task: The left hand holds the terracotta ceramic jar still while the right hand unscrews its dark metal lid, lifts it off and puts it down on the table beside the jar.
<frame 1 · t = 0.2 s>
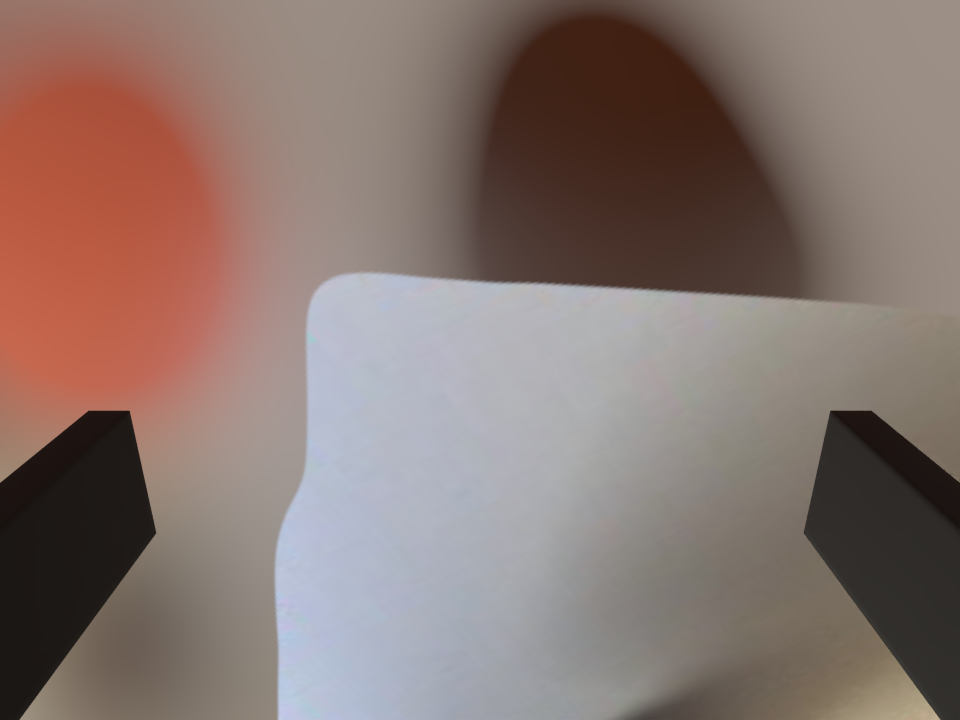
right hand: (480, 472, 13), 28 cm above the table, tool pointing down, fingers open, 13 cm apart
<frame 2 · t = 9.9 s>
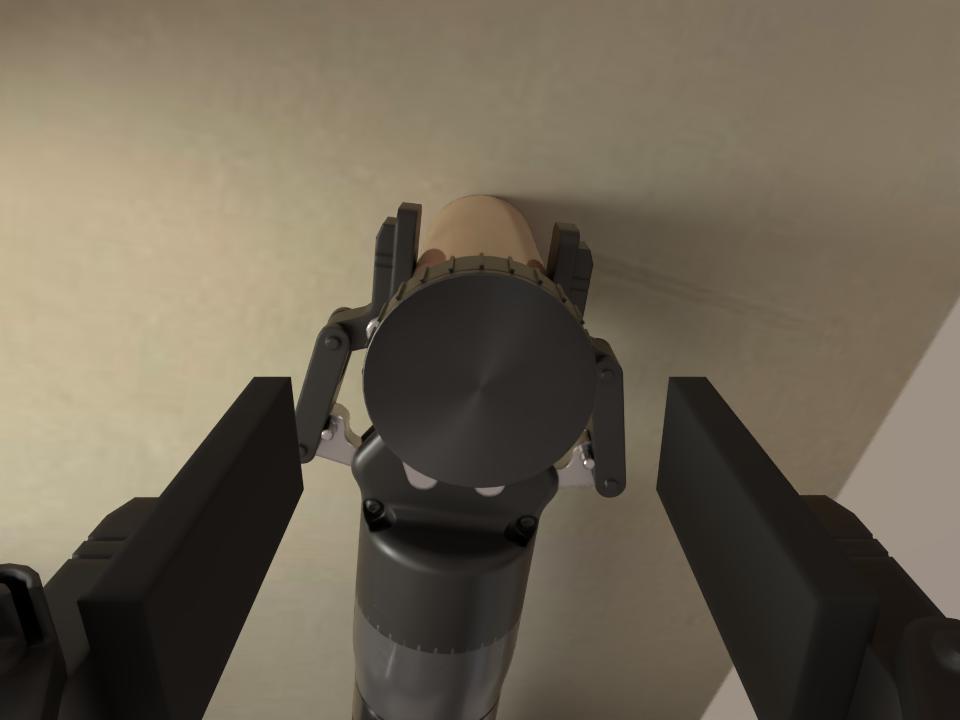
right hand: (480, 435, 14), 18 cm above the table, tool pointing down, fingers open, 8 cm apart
left hand: (488, 218, 24), fingers closed on jar, 5 cm apart
lid: (480, 382, 17), point 15 cm above the table, screwed on, not yet turned
jar: (479, 249, 31), on the table, touching left hand
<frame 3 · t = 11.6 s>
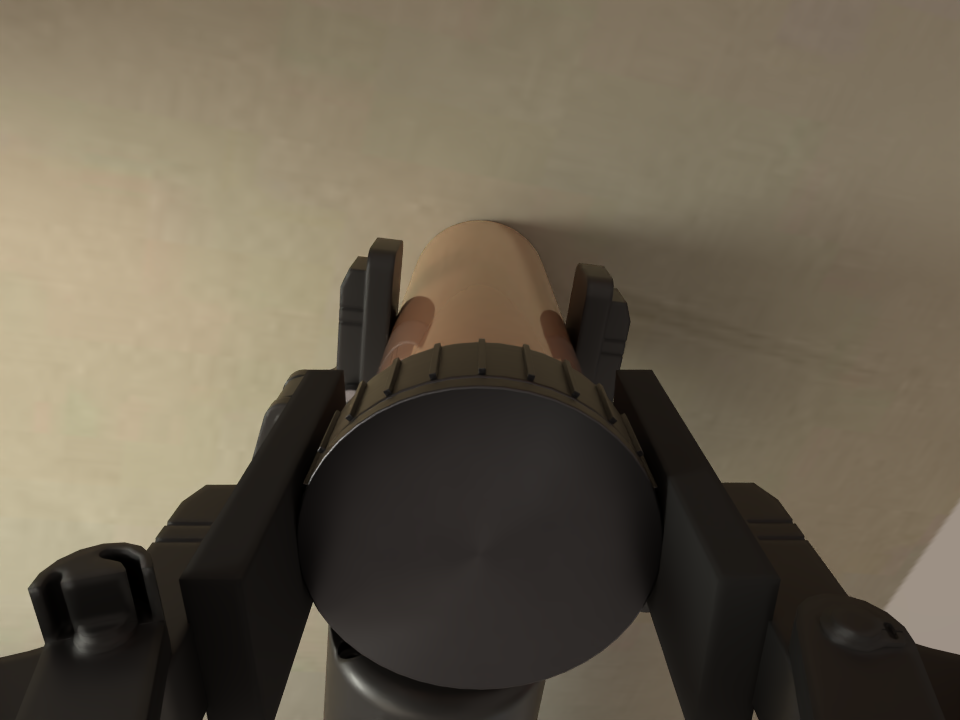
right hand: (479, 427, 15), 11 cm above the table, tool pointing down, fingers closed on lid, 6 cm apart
lid: (479, 540, 11), point 15 cm above the table, screwed on, not yet turned, touching right hand
jar: (479, 286, 25), on the table, touching left hand
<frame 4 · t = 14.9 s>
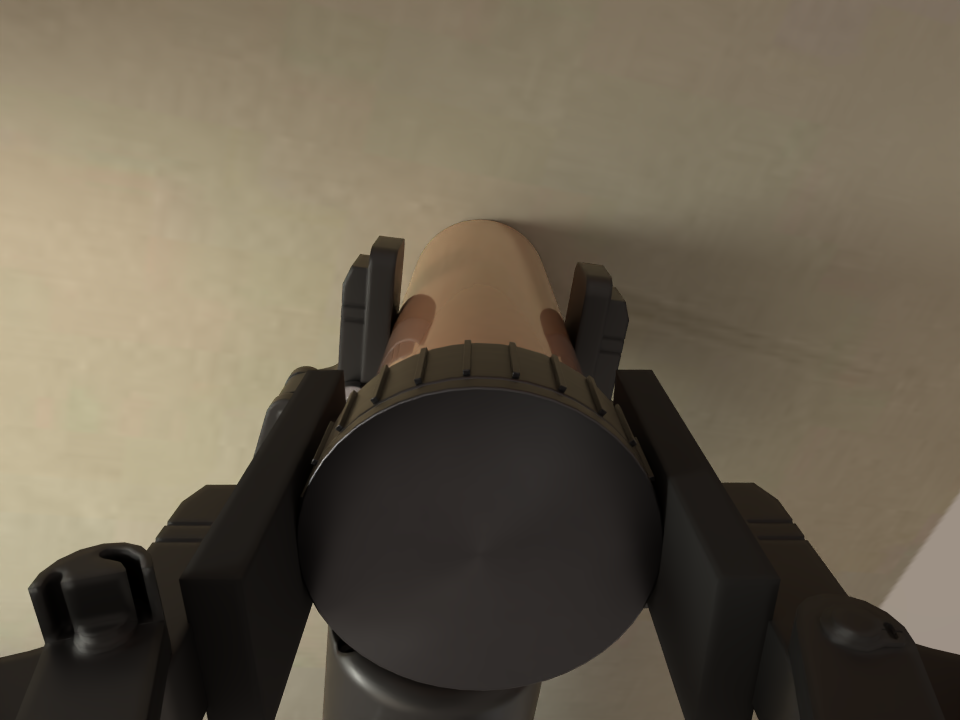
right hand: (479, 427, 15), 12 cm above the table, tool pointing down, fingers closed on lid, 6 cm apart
lid: (479, 541, 11), point 15 cm above the table, turned 106° so far, risen 0.2 cm, still on its thread, touching right hand
jar: (479, 285, 25), on the table, touching left hand
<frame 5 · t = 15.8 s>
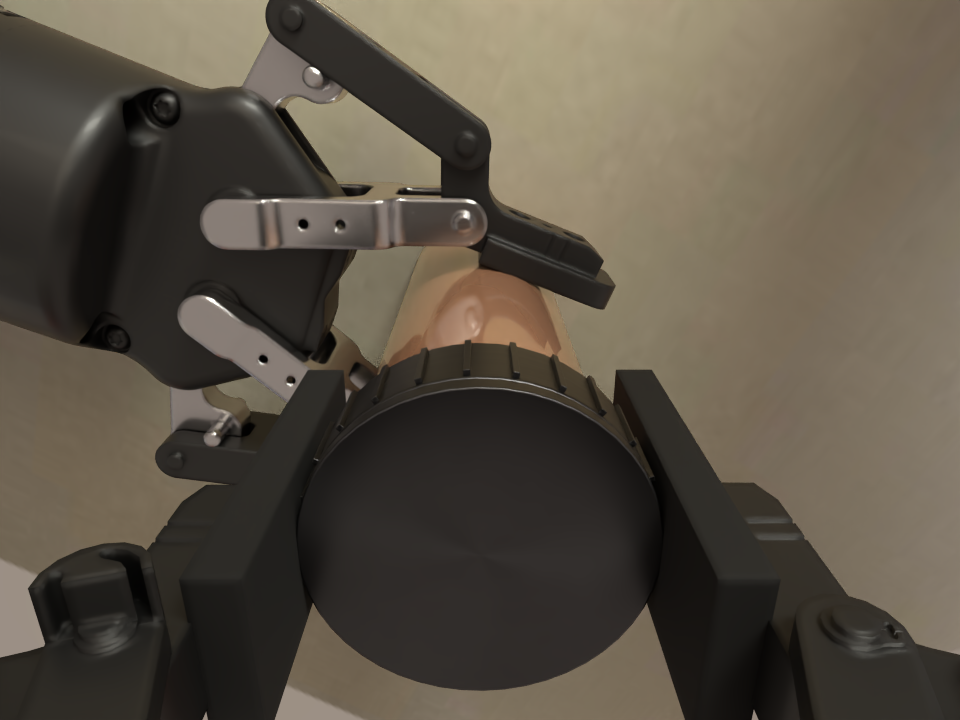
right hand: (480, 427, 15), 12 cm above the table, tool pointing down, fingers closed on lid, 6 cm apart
left hand: (561, 374, 20), fingers closed on jar, 5 cm apart
lid: (479, 541, 11), point 16 cm above the table, off its thread, touching right hand
jar: (479, 283, 25), on the table, touching left hand
when the right hand's fingers open (0 cm above the table, at t = 21.9 s): lid drops 2 cm, point 2 cm above the table.
when the left hand's fingers open (7 cm above the table, at t = 22.6 s): jar stays where it is, on the table.
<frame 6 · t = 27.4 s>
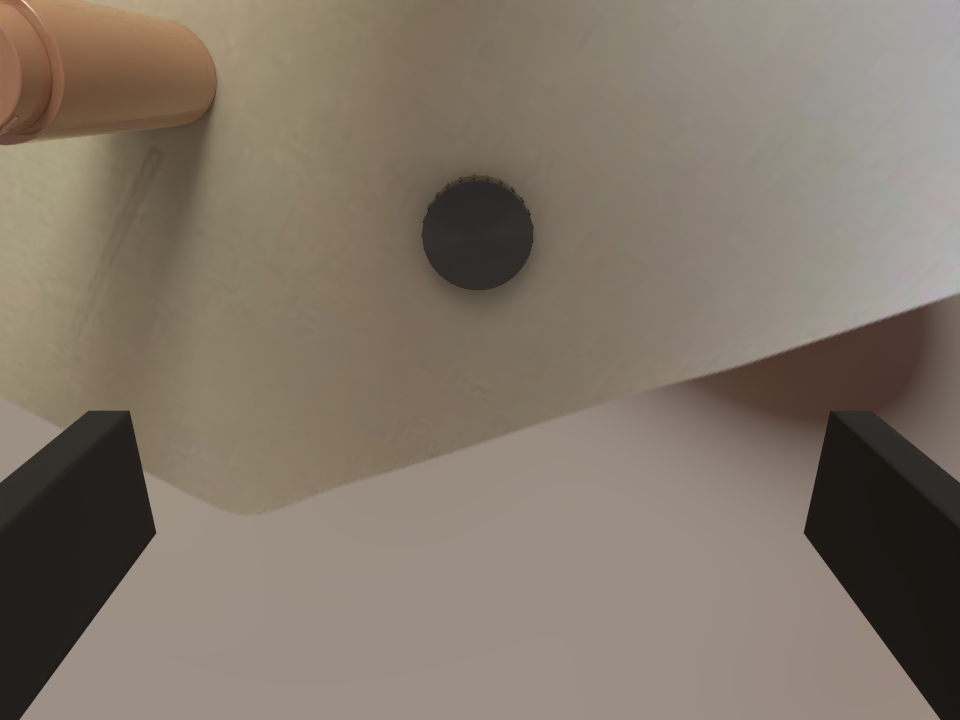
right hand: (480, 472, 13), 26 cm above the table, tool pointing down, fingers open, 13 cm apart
lid: (477, 235, 35), point 2 cm above the table, off its thread
jar: (167, 74, 34), on the table
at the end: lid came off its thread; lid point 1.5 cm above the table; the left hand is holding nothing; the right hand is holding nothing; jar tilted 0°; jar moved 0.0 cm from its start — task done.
